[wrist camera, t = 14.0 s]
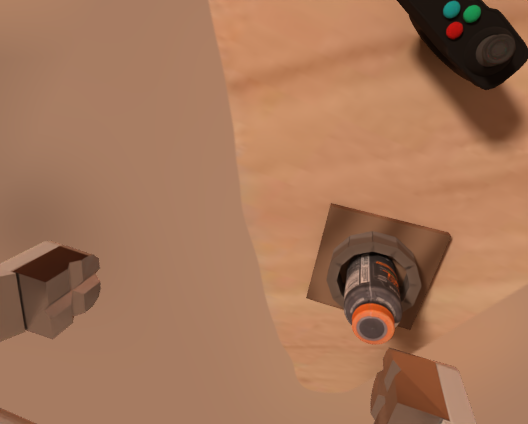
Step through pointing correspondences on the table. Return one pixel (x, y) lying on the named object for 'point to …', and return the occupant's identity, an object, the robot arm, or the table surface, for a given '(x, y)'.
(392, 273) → the pill bottle
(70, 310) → the robot arm
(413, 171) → the table surface
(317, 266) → the holder
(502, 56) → the controller
